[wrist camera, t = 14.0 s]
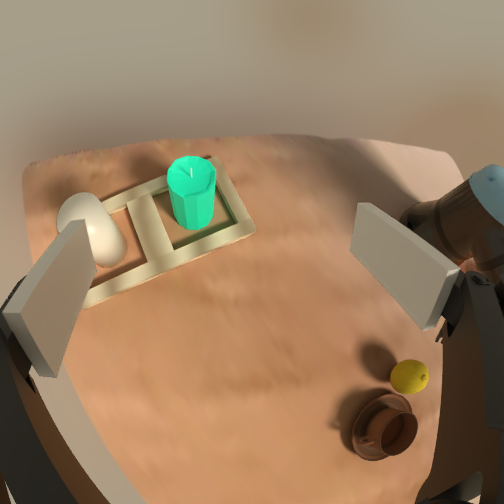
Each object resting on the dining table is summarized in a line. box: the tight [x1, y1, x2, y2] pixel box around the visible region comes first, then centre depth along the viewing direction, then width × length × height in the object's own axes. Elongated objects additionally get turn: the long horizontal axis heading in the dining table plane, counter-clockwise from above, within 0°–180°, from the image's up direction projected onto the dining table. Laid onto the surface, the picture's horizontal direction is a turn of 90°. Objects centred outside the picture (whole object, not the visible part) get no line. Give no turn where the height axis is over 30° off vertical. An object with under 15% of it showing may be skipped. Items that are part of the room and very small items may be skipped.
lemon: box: [390, 360, 429, 394], centre depth 36 cm, size 6×6×8 cm
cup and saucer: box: [352, 394, 418, 461], centre depth 34 cm, size 12×12×6 cm
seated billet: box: [57, 192, 127, 268], centre depth 33 cm, size 6×6×12 cm
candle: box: [167, 156, 216, 230], centre depth 37 cm, size 6×6×12 cm
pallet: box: [59, 156, 257, 310], centre depth 40 cm, size 28×14×2 cm, turn 117°
